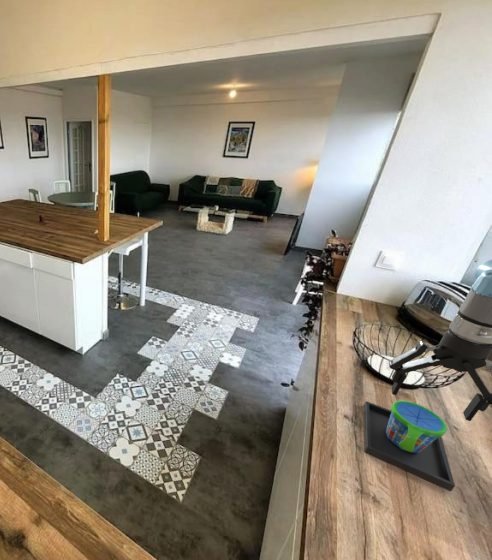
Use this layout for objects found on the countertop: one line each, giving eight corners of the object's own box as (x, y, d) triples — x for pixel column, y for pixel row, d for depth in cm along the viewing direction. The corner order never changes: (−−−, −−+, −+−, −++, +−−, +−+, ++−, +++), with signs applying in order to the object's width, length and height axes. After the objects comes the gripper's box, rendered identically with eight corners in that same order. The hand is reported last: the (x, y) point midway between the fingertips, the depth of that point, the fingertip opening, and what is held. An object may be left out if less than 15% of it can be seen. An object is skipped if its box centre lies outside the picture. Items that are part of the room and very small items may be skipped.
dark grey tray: (435, 433, 88) (439, 428, 88) (450, 491, 74) (455, 486, 73) (363, 405, 97) (365, 400, 96) (364, 452, 83) (367, 447, 82)
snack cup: (387, 414, 93) (402, 390, 89) (435, 440, 86) (453, 414, 81) (369, 442, 85) (384, 416, 81) (420, 473, 78) (440, 446, 73)
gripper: (400, 324, 74) (367, 390, 83) (568, 367, 60) (507, 440, 70) (397, 311, 79) (366, 374, 88) (551, 348, 66) (496, 418, 75)
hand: (428, 403), depth 79 cm, fingers open, 13 cm apart
